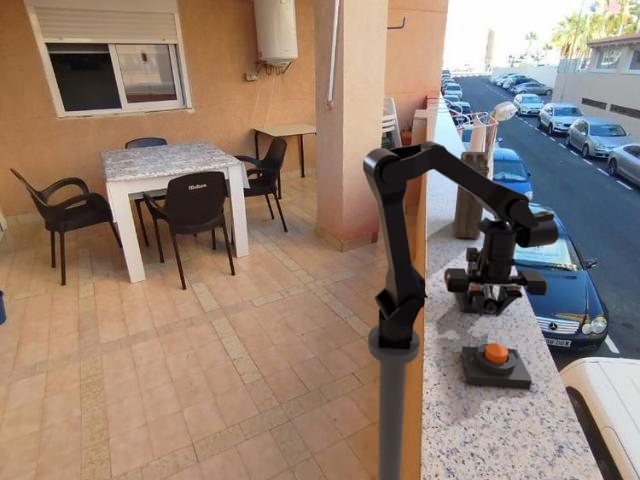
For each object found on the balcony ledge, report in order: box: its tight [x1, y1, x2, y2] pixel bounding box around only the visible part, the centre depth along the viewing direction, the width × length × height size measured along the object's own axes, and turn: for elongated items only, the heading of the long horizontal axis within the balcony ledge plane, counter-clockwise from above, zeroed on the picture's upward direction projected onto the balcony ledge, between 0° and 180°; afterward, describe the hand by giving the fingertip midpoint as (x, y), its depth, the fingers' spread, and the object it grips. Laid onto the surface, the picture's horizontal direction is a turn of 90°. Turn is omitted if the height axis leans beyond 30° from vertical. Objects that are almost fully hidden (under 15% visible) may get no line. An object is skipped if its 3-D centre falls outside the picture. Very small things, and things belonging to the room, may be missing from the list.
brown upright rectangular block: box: [453, 151, 490, 239], centre depth 123 cm, size 19×8×25 cm, turn 161°
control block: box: [460, 343, 532, 390], centre depth 68 cm, size 10×8×4 cm
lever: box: [475, 265, 499, 314], centre depth 82 cm, size 13×3×3 cm, turn 172°
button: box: [485, 342, 508, 364], centre depth 67 cm, size 4×4×2 cm
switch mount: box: [456, 262, 497, 315], centre depth 87 cm, size 10×8×10 cm
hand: (488, 315), depth 80 cm, fingers closed on lever, 3 cm apart
